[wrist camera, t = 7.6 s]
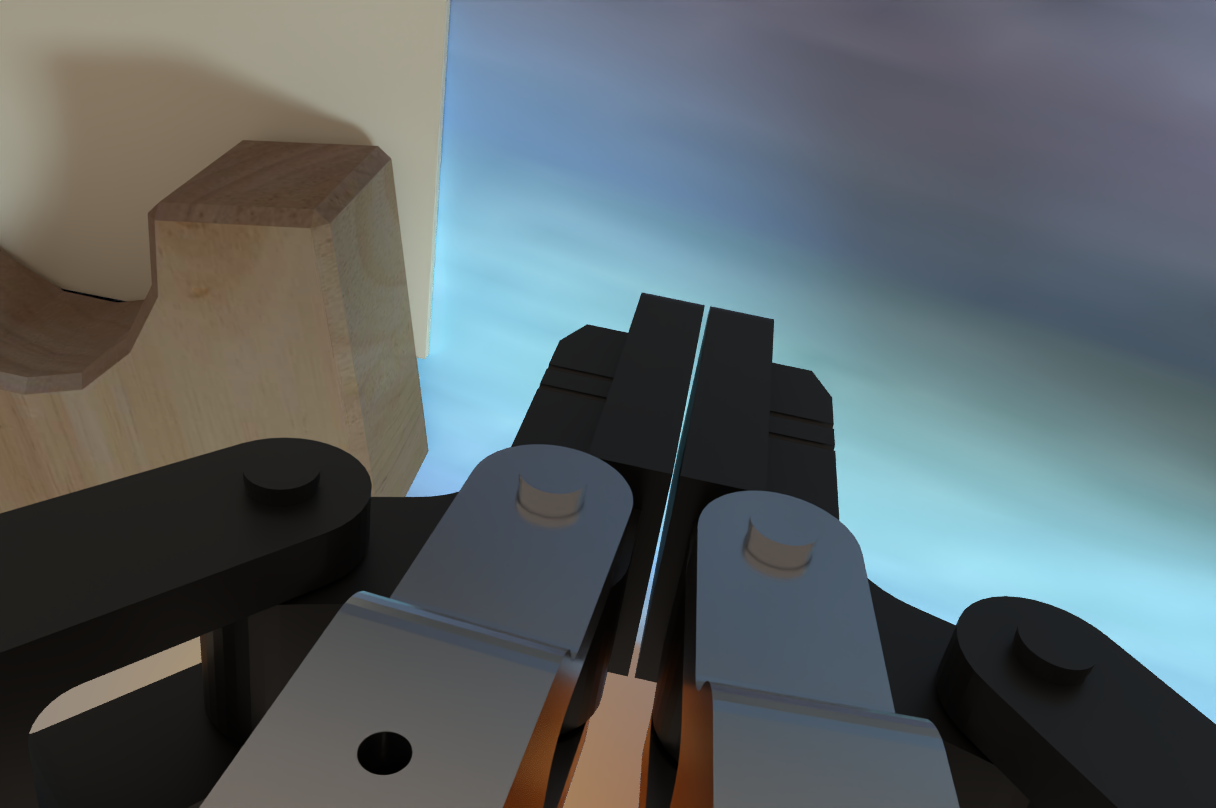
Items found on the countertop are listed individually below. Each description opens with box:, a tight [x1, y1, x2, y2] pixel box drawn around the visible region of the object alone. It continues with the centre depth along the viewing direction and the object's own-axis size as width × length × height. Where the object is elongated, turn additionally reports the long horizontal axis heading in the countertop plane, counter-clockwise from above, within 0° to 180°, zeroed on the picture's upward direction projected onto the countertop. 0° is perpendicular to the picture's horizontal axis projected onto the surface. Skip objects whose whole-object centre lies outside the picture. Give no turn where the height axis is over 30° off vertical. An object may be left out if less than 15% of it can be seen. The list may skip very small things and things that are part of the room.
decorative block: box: [0, 140, 428, 513], centre depth 32 cm, size 11×6×20 cm
